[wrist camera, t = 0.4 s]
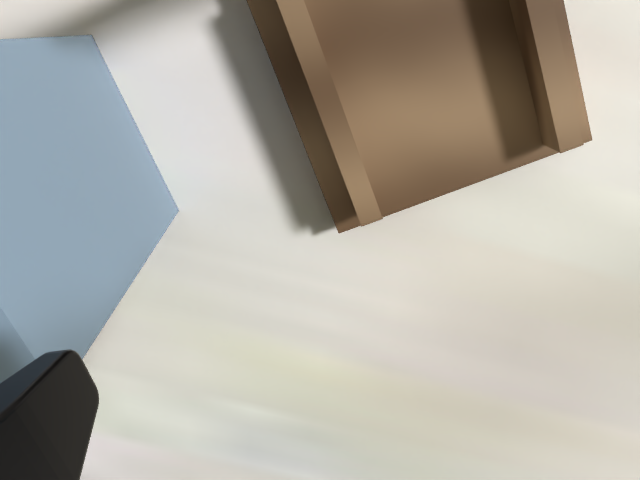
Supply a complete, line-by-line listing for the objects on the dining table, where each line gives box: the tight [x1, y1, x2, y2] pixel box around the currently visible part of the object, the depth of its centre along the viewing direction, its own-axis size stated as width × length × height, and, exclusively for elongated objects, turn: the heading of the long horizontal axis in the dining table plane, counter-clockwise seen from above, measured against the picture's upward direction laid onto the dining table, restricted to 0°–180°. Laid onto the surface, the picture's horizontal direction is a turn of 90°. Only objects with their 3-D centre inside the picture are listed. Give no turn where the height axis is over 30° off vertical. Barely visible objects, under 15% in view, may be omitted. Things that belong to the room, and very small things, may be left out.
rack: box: [247, 0, 592, 233], centre depth 16 cm, size 11×10×9 cm
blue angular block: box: [0, 35, 179, 383], centre depth 16 cm, size 7×4×12 cm, turn 21°
